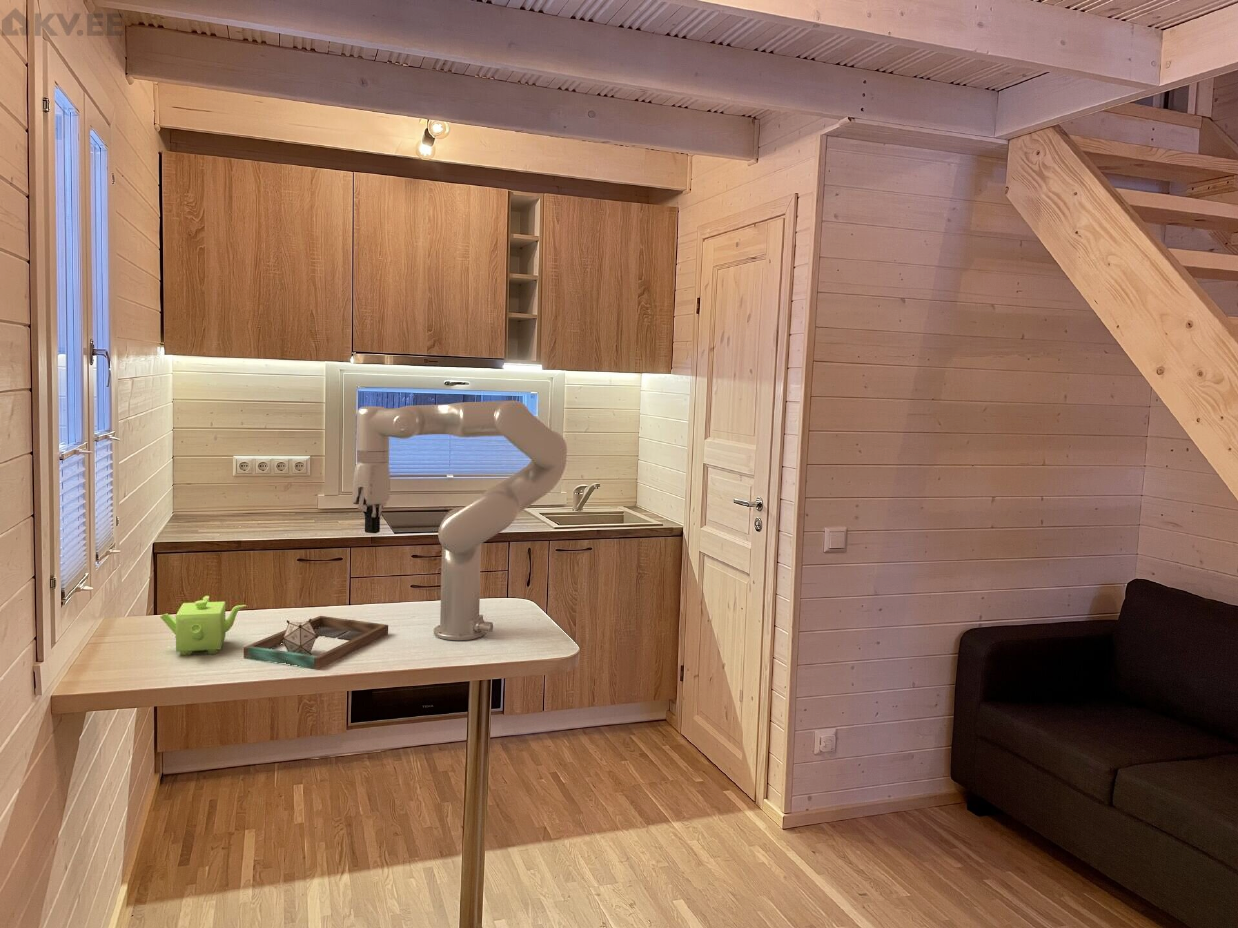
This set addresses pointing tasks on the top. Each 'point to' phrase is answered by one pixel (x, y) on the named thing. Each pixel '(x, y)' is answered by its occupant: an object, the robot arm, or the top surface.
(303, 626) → the game die
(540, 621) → the top surface
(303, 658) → the shallow open wooden box
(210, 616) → the kettle
